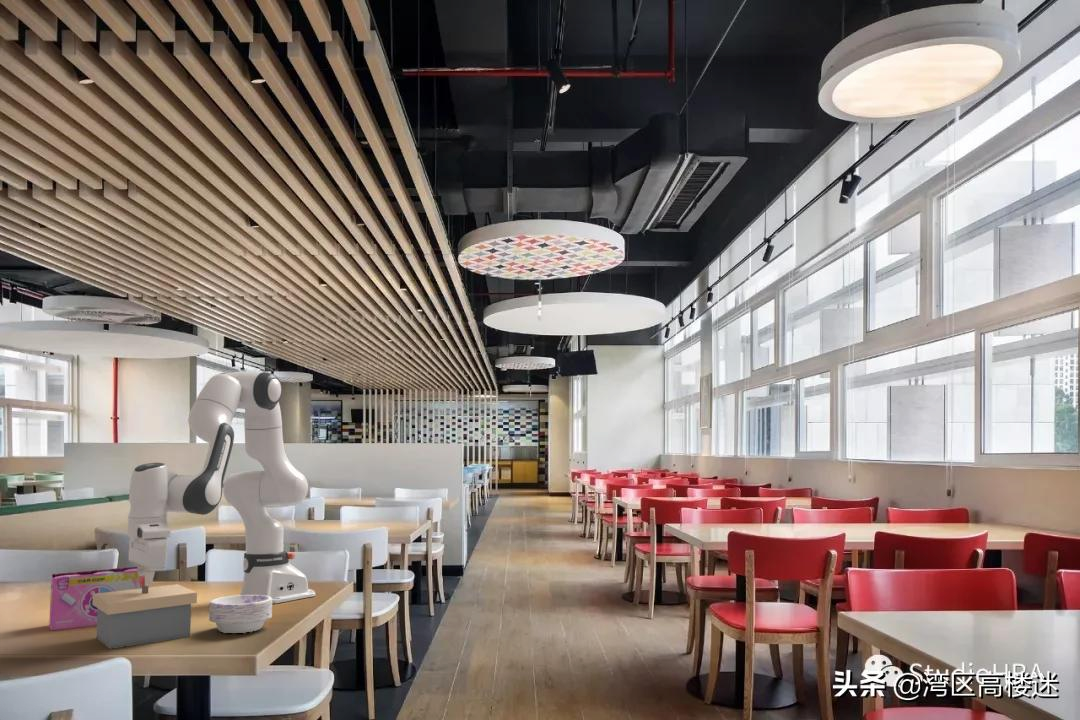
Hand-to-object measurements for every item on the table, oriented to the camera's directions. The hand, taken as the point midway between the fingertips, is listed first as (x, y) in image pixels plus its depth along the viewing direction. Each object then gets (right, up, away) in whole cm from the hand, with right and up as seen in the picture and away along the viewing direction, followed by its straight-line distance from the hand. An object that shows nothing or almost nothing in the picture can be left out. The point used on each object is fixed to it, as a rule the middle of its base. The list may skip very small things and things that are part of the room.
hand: (145, 584), depth 202 cm
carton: (0, -13, -1) cm, 13 cm away
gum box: (-21, -15, +16) cm, 30 cm away
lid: (0, -5, -1) cm, 5 cm away
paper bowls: (+22, -14, +5) cm, 26 cm away
